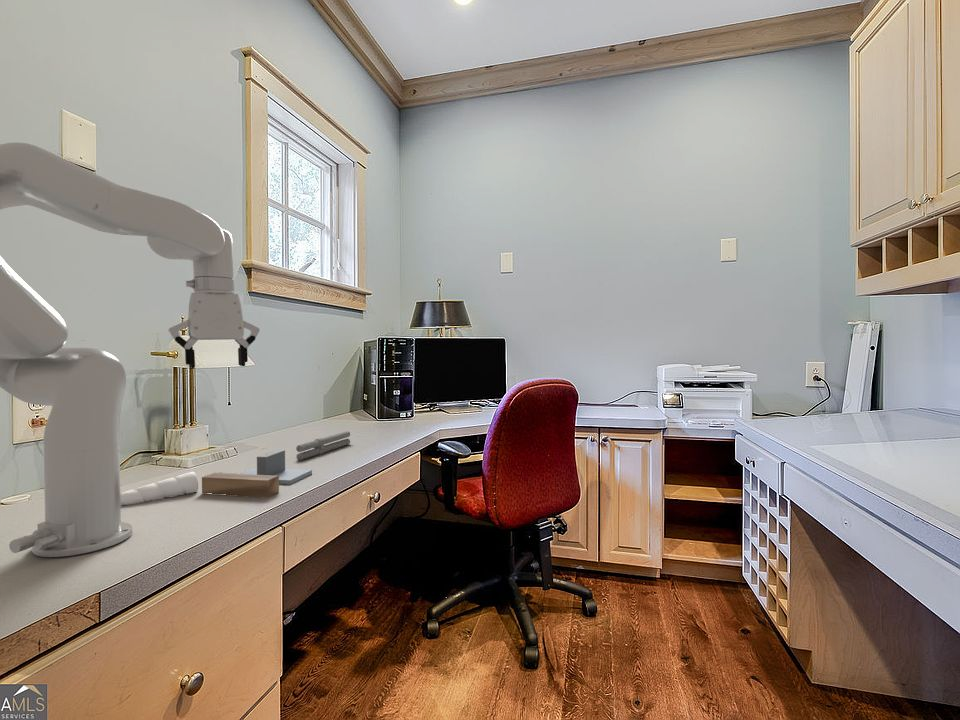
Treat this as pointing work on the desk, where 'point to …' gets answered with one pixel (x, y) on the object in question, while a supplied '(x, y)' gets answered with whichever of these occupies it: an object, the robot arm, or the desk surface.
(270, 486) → the walnut bar
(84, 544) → the robot arm
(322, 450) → the metal rod assembly
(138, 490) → the unicorn horn
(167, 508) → the desk surface
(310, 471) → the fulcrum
